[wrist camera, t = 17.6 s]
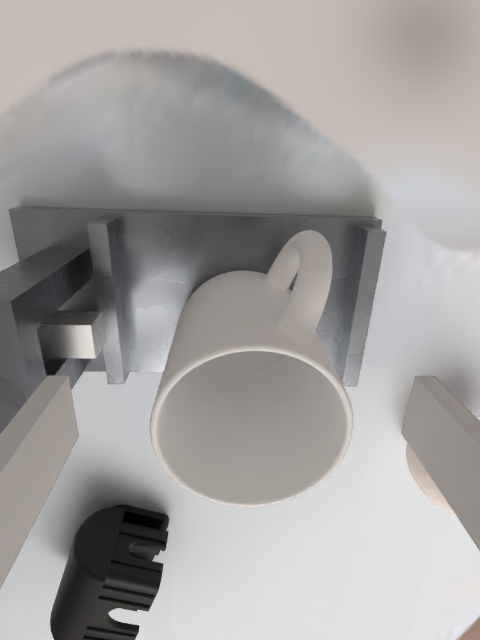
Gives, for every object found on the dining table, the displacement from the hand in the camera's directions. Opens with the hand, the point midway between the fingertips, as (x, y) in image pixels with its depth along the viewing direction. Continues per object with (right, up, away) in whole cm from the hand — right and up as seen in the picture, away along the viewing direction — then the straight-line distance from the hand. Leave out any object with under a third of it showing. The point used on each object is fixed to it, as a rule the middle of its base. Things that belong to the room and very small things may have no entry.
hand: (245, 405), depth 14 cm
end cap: (-11, -17, +20) cm, 28 cm away
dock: (-3, +5, +10) cm, 12 cm away
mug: (+1, +4, +10) cm, 11 cm away
